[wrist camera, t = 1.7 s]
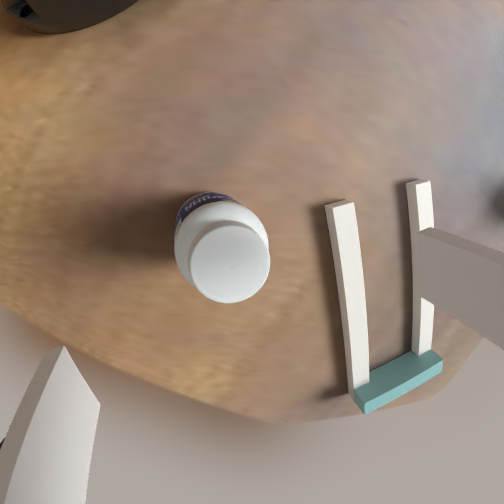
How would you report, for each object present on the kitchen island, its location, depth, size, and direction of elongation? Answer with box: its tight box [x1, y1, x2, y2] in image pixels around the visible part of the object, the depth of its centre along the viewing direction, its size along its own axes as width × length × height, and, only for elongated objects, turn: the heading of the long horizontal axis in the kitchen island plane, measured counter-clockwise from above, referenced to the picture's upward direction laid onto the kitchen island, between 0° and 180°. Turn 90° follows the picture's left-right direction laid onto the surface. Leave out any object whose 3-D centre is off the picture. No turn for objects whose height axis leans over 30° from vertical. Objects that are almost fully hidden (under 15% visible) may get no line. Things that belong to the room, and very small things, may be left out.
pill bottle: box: [174, 192, 270, 303], centre depth 20 cm, size 5×5×10 cm
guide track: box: [324, 179, 443, 414], centre depth 29 cm, size 22×11×4 cm, turn 14°
